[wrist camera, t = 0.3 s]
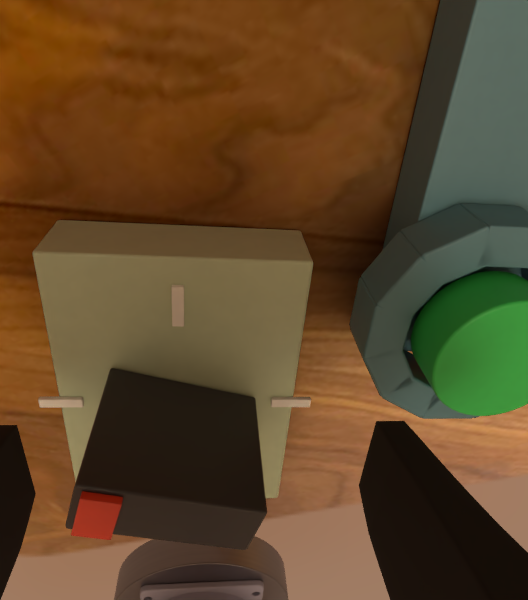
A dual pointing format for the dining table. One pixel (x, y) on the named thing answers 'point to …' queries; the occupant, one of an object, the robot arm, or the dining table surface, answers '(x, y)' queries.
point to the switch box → (451, 190)
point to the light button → (476, 343)
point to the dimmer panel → (176, 317)
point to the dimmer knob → (170, 465)
